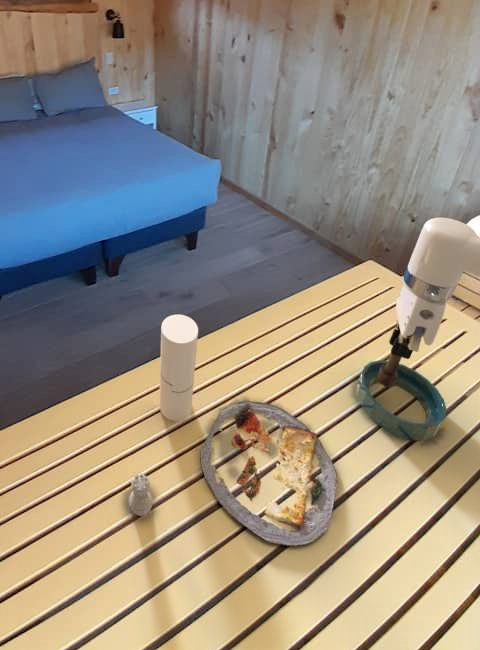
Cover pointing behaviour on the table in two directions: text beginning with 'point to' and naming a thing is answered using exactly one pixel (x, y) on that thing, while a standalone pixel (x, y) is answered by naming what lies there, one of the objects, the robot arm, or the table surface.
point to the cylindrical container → (177, 366)
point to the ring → (416, 387)
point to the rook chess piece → (140, 495)
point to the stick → (389, 371)
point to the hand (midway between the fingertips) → (398, 350)
